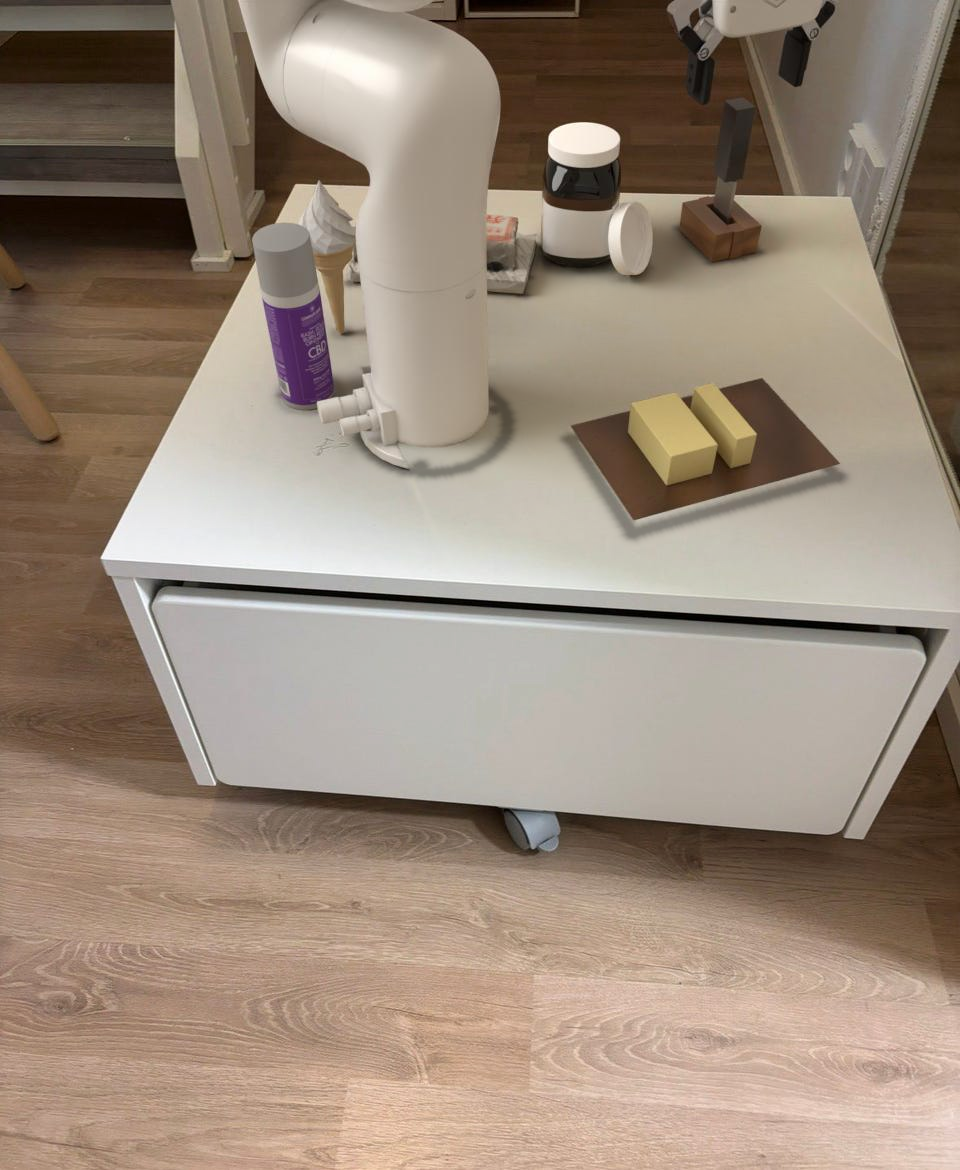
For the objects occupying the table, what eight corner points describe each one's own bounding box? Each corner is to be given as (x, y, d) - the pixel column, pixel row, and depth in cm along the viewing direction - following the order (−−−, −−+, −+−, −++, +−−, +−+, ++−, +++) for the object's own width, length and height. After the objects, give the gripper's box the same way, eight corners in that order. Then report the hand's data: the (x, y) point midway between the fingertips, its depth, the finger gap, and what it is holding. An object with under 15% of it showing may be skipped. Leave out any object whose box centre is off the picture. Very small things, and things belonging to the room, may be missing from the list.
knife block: (712, 263, 104) (717, 236, 101) (677, 228, 109) (681, 201, 106) (757, 253, 105) (763, 226, 103) (721, 219, 110) (725, 192, 107)
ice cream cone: (358, 354, 94) (338, 199, 83) (301, 345, 95) (274, 191, 84) (378, 320, 98) (362, 168, 87) (323, 313, 99) (300, 161, 88)
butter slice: (730, 469, 80) (736, 439, 78) (688, 416, 85) (693, 387, 83) (750, 463, 81) (757, 433, 79) (708, 411, 85) (713, 382, 83)
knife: (715, 249, 105) (738, 111, 95) (701, 235, 107) (722, 99, 97) (732, 245, 106) (757, 108, 96) (718, 232, 108) (741, 95, 97)
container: (325, 413, 88) (300, 255, 77) (274, 407, 89) (241, 249, 78) (341, 380, 92) (319, 224, 80) (291, 375, 92) (262, 219, 81)
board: (631, 534, 78) (633, 520, 77) (569, 439, 86) (570, 425, 84) (836, 477, 82) (840, 463, 81) (759, 391, 89) (762, 377, 88)
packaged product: (340, 240, 99) (364, 190, 105) (346, 284, 102) (369, 234, 109) (526, 251, 96) (538, 200, 103) (525, 297, 100) (537, 245, 107)
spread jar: (543, 224, 110) (546, 113, 101) (649, 227, 109) (662, 116, 100) (536, 284, 102) (539, 170, 93) (651, 289, 101) (665, 174, 92)
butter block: (666, 486, 79) (671, 456, 77) (627, 432, 84) (630, 402, 82) (712, 473, 80) (718, 444, 78) (671, 421, 85) (675, 391, 82)
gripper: (705, -100, 79) (679, 123, 91) (898, -129, 82) (846, 90, 95) (661, -126, 83) (642, 90, 96) (845, -151, 87) (803, 60, 100)
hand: (743, 90), depth 96 cm, fingers open, 9 cm apart
